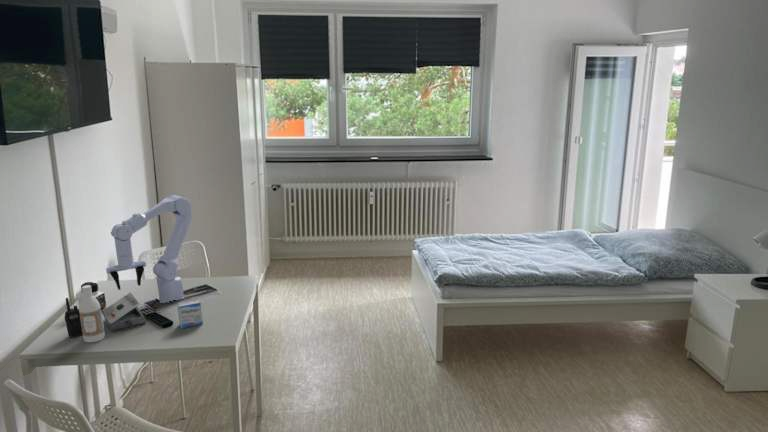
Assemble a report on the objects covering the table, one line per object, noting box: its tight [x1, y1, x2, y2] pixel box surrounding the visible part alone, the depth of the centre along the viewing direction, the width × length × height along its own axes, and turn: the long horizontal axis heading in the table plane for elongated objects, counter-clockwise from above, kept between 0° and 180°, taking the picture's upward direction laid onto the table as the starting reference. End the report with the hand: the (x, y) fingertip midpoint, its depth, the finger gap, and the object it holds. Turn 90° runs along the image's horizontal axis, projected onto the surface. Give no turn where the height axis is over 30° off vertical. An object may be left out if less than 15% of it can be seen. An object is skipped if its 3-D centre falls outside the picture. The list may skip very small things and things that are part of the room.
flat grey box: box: [103, 306, 147, 333], centre depth 226 cm, size 12×19×3 cm, turn 34°
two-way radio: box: [64, 297, 83, 339], centre depth 214 cm, size 6×4×15 cm
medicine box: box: [176, 299, 204, 329], centre depth 222 cm, size 8×4×9 cm, turn 117°
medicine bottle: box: [77, 281, 108, 312], centre depth 237 cm, size 7×7×12 cm
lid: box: [101, 292, 141, 325], centre depth 224 cm, size 12×14×2 cm
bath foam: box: [78, 285, 106, 344], centre depth 210 cm, size 7×7×20 cm
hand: (129, 286), depth 235 cm, fingers open, 7 cm apart
